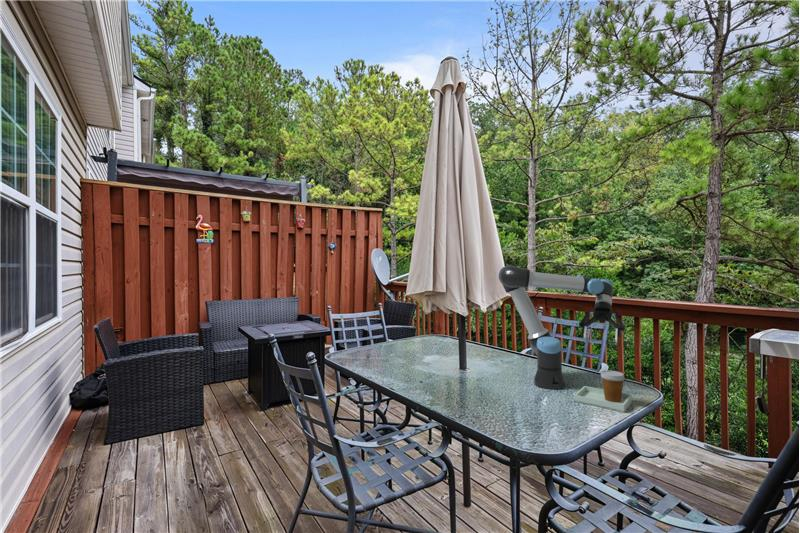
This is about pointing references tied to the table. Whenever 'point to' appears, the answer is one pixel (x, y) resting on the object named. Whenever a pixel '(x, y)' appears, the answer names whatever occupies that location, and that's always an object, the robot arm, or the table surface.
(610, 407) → the sage tray
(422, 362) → the table surface
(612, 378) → the disposable coffee cup
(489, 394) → the table surface
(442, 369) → the table surface
